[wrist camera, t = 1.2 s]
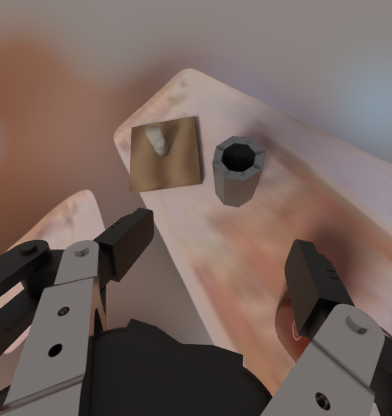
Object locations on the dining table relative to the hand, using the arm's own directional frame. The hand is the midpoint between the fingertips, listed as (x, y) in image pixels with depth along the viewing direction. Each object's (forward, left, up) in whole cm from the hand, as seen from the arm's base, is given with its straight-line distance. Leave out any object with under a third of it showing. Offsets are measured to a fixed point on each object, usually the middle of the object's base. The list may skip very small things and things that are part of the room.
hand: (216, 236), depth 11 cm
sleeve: (-4, -11, -20) cm, 23 cm away
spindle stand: (+8, -20, -20) cm, 29 cm away
